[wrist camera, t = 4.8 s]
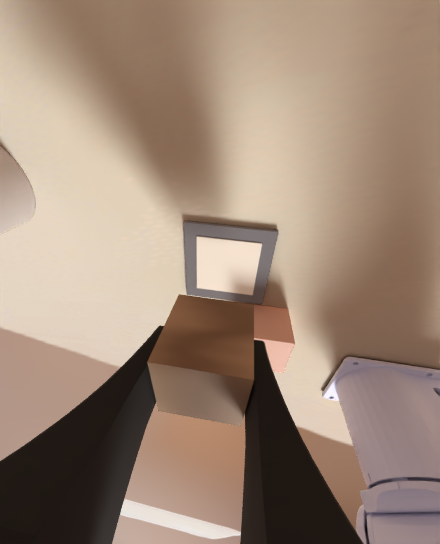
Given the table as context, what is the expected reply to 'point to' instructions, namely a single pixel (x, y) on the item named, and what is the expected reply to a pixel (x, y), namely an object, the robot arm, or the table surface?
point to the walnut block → (205, 360)
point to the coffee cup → (14, 194)
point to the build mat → (228, 261)
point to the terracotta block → (274, 334)
